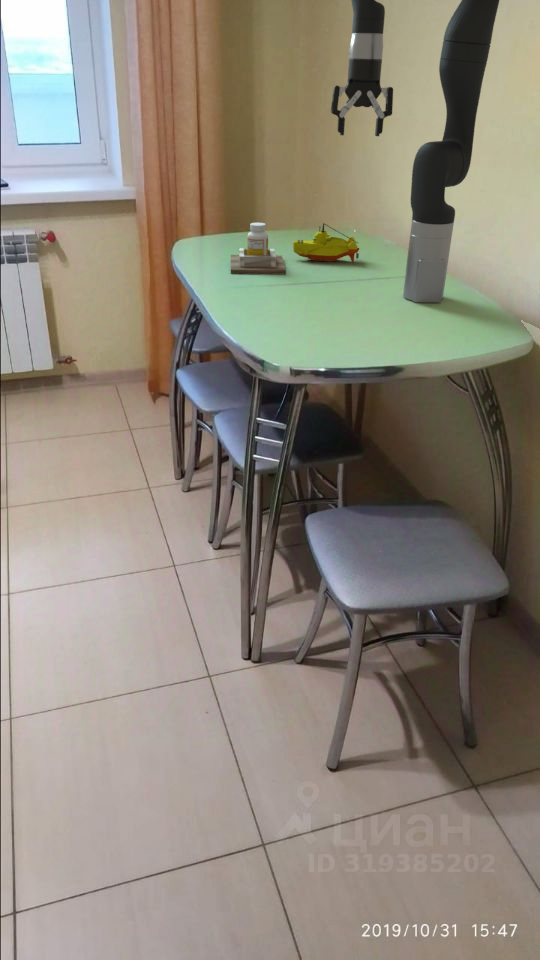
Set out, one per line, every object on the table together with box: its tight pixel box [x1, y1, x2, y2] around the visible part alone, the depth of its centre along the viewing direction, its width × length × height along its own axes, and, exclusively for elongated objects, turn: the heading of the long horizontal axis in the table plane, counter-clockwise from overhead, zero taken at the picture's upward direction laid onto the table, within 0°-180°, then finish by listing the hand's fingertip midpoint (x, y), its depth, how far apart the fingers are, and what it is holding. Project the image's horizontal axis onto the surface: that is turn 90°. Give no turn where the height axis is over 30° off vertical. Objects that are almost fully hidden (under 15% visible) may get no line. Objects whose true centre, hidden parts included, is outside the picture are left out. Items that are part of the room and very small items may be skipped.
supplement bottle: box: [246, 222, 269, 256], centre depth 188 cm, size 5×5×10 cm
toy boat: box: [292, 222, 360, 262], centre depth 195 cm, size 6×18×10 cm, turn 89°
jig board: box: [230, 247, 286, 275], centre depth 190 cm, size 16×14×4 cm
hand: (359, 135), depth 172 cm, fingers open, 8 cm apart
